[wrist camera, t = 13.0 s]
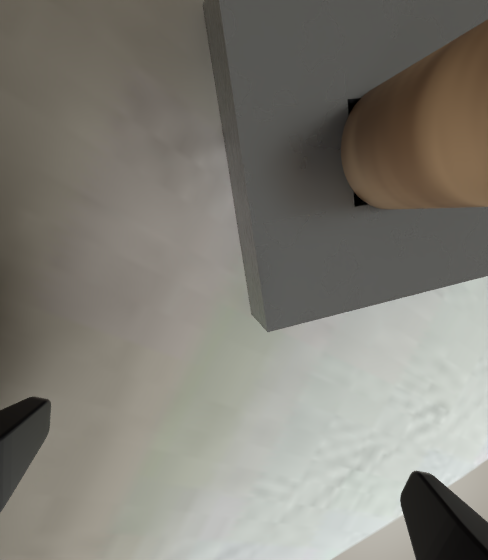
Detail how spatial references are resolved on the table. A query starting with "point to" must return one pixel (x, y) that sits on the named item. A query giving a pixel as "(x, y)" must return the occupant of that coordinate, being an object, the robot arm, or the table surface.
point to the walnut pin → (424, 132)
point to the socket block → (328, 153)
